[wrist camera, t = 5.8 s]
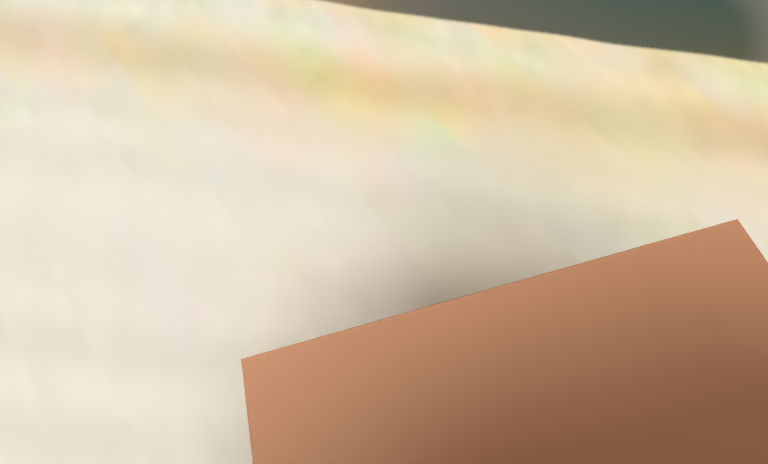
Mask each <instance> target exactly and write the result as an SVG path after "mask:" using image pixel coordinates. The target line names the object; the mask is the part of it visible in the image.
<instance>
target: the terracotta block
mask: <svg viewBox="0 0 768 464" xmlns="http://www.w3.org/2000/svg"><path fill="white" fill-rule="evenodd" d="M241 361H242V370H243V379H244V387H245V396H246V405H247V414H248V423H249V432H250V441H251V450H252V459H253V464H768V263H767V261H766V260H765V258H764V257H763V255H762V254H761V252H760V251H759V250H758V248H757V247H756V245H755V244H754V242H753V241H752V239H751V238H750V237H749V235H748V234H747V232H746V231H745V229H744V228H743V227H742V225H741V224H740V222H739V221H738V219H736V220H733V221H729V222H726V223H722V224H719V225H715V226H712V227H708V228H705V229H701V230H697V231H694V232H690V233H687V234H683V235H680V236H676V237H673V238H669V239H666V240H662V241H658V242H655V243H651V244H648V245H644V246H641V247H637V248H634V249H630V250H627V251H623V252H620V253H616V254H612V255H609V256H605V257H602V258H598V259H595V260H591V261H588V262H584V263H581V264H577V265H573V266H570V267H566V268H563V269H559V270H556V271H552V272H549V273H545V274H542V275H538V276H534V277H531V278H527V279H524V280H520V281H517V282H513V283H510V284H506V285H503V286H499V287H495V288H492V289H488V290H485V291H481V292H478V293H474V294H471V295H467V296H464V297H460V298H457V299H453V300H449V301H446V302H442V303H439V304H435V305H432V306H428V307H425V308H421V309H418V310H414V311H410V312H407V313H403V314H400V315H396V316H393V317H389V318H386V319H382V320H379V321H375V322H371V323H368V324H364V325H361V326H357V327H354V328H350V329H347V330H343V331H340V332H336V333H332V334H329V335H325V336H322V337H318V338H315V339H311V340H308V341H304V342H301V343H297V344H294V345H290V346H286V347H283V348H279V349H276V350H272V351H269V352H265V353H262V354H258V355H255V356H251V357H247V358H244V359H241Z"/></svg>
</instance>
